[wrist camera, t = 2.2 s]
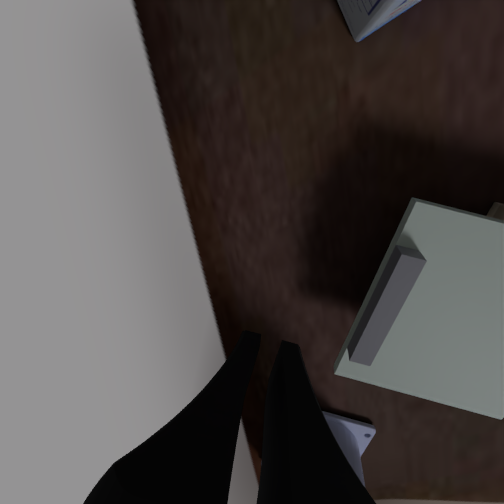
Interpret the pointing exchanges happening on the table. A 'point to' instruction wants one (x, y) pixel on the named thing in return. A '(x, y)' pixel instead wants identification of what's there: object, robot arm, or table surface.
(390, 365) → the lid
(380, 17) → the medicine box
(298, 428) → the robot arm
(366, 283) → the table surface
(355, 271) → the table surface
